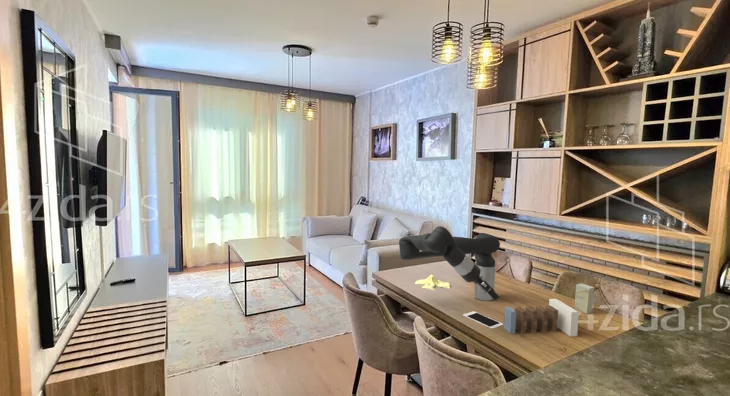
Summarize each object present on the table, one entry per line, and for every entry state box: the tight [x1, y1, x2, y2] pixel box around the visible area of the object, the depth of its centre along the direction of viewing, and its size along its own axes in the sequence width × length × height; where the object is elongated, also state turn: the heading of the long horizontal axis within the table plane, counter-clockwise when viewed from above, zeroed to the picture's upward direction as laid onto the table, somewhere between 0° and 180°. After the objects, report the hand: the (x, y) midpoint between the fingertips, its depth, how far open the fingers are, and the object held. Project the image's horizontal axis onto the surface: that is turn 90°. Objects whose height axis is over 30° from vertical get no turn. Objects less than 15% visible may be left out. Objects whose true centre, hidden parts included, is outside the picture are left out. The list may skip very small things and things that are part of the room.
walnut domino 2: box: [525, 305, 537, 334], centre depth 144 cm, size 2×5×9 cm, turn 6°
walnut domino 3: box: [535, 305, 548, 333], centre depth 144 cm, size 2×5×9 cm, turn 6°
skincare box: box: [573, 283, 595, 315], centre depth 163 cm, size 6×4×12 cm
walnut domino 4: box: [545, 305, 558, 333], centre depth 145 cm, size 2×5×9 cm, turn 6°
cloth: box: [414, 274, 451, 291], centre depth 201 cm, size 22×19×6 cm
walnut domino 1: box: [514, 306, 527, 334], centre depth 143 cm, size 2×5×9 cm, turn 6°
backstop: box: [548, 298, 580, 337], centre depth 145 cm, size 3×14×10 cm, turn 6°
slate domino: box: [503, 306, 516, 334], centre depth 143 cm, size 2×5×9 cm, turn 6°
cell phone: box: [462, 310, 504, 330], centre depth 154 cm, size 8×16×1 cm, turn 33°
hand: (492, 294), depth 141 cm, fingers open, 8 cm apart
